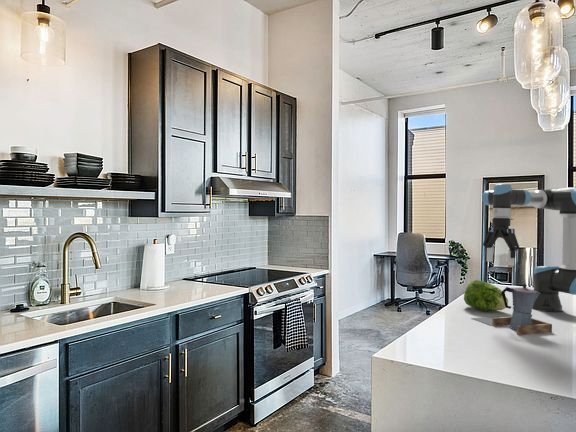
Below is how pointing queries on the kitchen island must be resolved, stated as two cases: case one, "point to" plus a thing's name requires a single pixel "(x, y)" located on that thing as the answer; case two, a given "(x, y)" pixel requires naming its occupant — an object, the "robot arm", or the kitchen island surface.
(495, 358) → the kitchen island surface
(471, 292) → the lettuce
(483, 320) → the mat
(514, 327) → the moka pot
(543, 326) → the brown wooden frame
